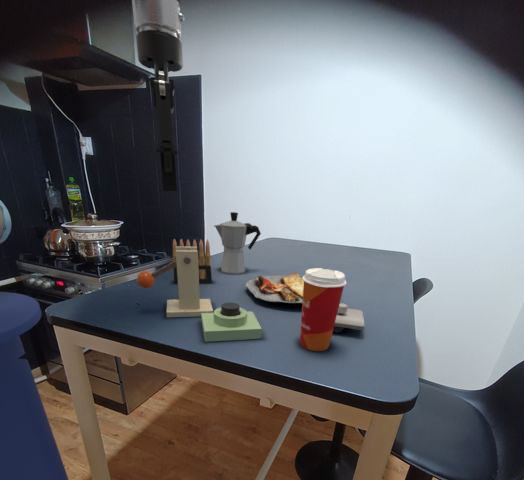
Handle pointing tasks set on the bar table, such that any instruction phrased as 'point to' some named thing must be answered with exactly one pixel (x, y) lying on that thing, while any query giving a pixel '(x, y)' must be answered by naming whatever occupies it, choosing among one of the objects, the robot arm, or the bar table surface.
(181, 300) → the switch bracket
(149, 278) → the switch lever
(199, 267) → the ammunition clip
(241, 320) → the button block
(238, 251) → the coffee maker
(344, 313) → the light switch
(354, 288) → the bar table surface
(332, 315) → the paper cup
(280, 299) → the food plate
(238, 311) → the button
